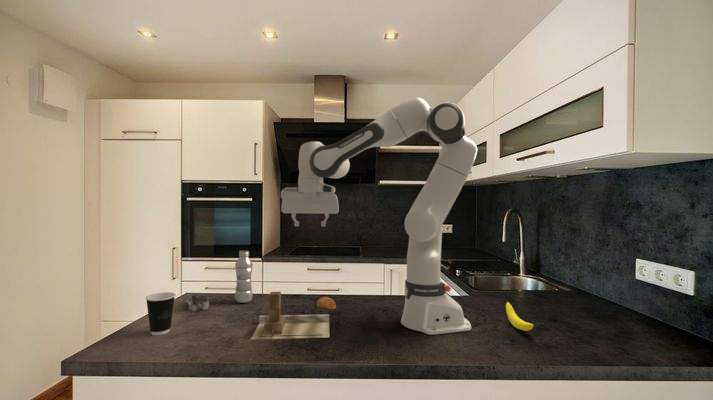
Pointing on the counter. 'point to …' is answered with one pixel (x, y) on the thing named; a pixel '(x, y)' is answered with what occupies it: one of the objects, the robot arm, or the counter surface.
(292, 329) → the birch board
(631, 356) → the counter surface
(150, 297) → the dixie cup
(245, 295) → the plastic bottle
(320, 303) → the pastry
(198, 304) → the egg carton
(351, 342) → the counter surface
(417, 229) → the robot arm
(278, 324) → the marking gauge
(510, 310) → the banana
